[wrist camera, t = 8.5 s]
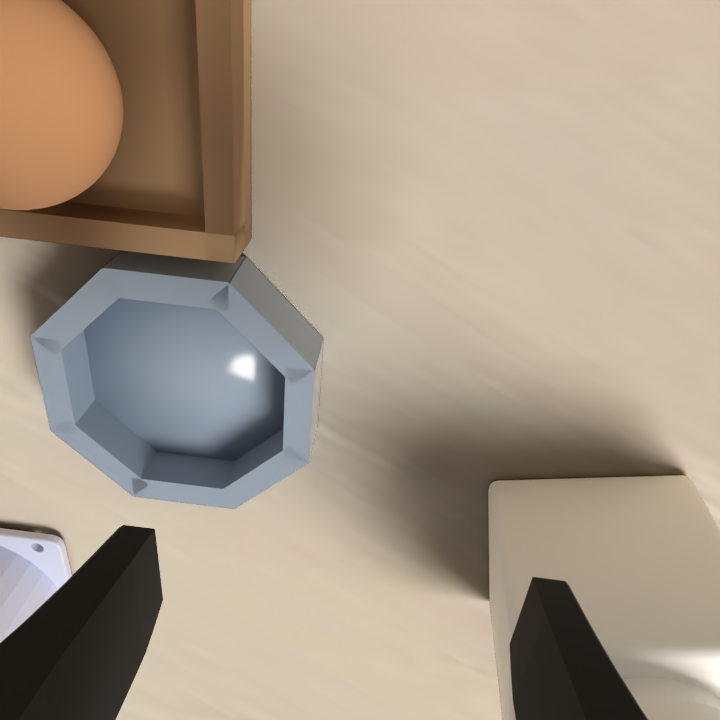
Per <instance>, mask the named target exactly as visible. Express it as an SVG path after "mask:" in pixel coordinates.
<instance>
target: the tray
mask: <svg viewBox="0 0 720 720" xmlns="http://www.w3.org/2000/svg"><path fill="white" fill-rule="evenodd" d="M61 1H63V2H64V3H65V4H67V5H68V6H69V7H70V8H71V9H72V10H73V11H75V12H76V13H77V14H78V15H79V16H80V17H81V18H82V19H83V20H84V21H85V22H86V23H87V25H88V26H89V27H90V28H91V29H92V30H93V32H94V33H95V34H96V36H97V37H98V39H99V40H100V41H101V43H102V44H103V46H104V48H105V50H106V51H107V53H108V55H109V57H110V59H111V61H112V64H113V66H114V68H115V71H116V74H117V77H118V80H119V83H120V88H121V93H122V98H123V126H122V131H121V136H120V141H119V144H118V147H117V150H116V153H115V155H114V157H113V159H112V160H111V162H110V164H109V166H108V167H107V169H106V170H105V171H104V172H103V174H102V175H101V176H100V178H99V179H98V180H97V181H96V182H94V183H93V184H92V185H91V186H90V187H89V188H88V189H86V190H85V191H83V192H82V193H80V194H79V195H77V196H76V197H74V198H71V199H69V200H67V201H65V202H63V203H60V204H57V205H54V206H50V207H46V208H40V209H32V210H8V209H0V236H1V237H9V238H18V239H27V240H35V241H44V242H53V243H61V244H70V245H79V246H88V247H96V248H105V249H114V250H122V251H131V252H140V253H148V254H157V255H166V256H174V257H183V258H192V259H201V260H209V261H218V262H227V263H236V261H237V260H238V258H239V257H240V255H241V254H242V252H243V251H244V249H245V248H246V246H247V245H248V243H249V242H250V240H251V239H252V215H251V0H61Z"/></svg>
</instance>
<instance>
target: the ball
mask: <svg viewBox="0 0 720 720" xmlns="http://www.w3.org/2000/svg"><path fill="white" fill-rule="evenodd" d="M122 126H123V98H122V93H121V88H120V83H119V80H118V77H117V74H116V71H115V68H114V66H113V64H112V61H111V59H110V57H109V55H108V53H107V51H106V50H105V48H104V46H103V44H102V43H101V41H100V40H99V39H98V37H97V36H96V34H95V33H94V32H93V30H92V29H91V28H90V27H89V26H88V25H87V23H86V22H85V21H84V20H83V19H82V18H81V17H80V16H79V15H78V14H77V13H76V12H75V11H73V10H72V9H71V8H70V7H69V6H68V5H67V4H65V3H64V2H63V1H61V0H0V209H8V210H32V209H40V208H46V207H50V206H54V205H57V204H60V203H63V202H65V201H67V200H69V199H71V198H74V197H76V196H77V195H79V194H80V193H82V192H83V191H85V190H86V189H88V188H89V187H90V186H91V185H92V184H93V183H94V182H96V181H97V180H98V179H99V178H100V176H101V175H102V174H103V172H104V171H105V170H106V169H107V167H108V166H109V164H110V162H111V160H112V159H113V157H114V155H115V153H116V150H117V147H118V144H119V141H120V136H121V131H122Z"/></svg>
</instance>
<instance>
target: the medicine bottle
mask: <svg viewBox="0 0 720 720" xmlns="http://www.w3.org/2000/svg"><path fill="white" fill-rule="evenodd" d="M488 510H489V596H490V614H491V623H492V631H493V640H494V649H495V658H496V667H497V676H498V685H499V693H500V702H501V711H502V720H516V717H515V711H514V705H513V695H512V681H511V664H510V645H509V644H510V641H511V638H512V635H513V633H514V630H515V627H516V624H517V621H518V618H519V615H520V612H521V609H522V606H523V603H524V600H525V598H526V595H527V592H528V589H529V586H530V583H531V580H532V577H538V578H546V579H554V580H562V581H566V582H567V584H568V585H569V586H570V588H571V590H572V592H573V594H574V596H575V597H576V599H577V601H578V603H579V605H580V607H581V609H582V610H583V612H584V614H585V616H586V618H587V619H588V621H589V623H590V625H591V627H592V628H593V630H594V632H595V634H596V635H597V637H598V639H599V641H600V642H601V644H602V646H603V648H604V649H605V651H606V653H607V654H608V656H609V658H610V659H611V661H612V663H613V665H614V666H615V668H616V670H617V671H618V673H619V674H620V676H621V678H622V679H623V681H624V682H625V684H626V686H627V687H628V689H629V690H630V692H631V694H632V695H633V697H634V698H635V700H636V702H637V703H638V705H639V706H640V708H641V710H642V711H643V713H644V714H645V716H646V717H647V719H648V720H720V529H719V527H718V526H717V524H716V522H715V520H714V518H713V517H712V515H711V513H710V511H709V509H708V508H707V506H706V504H705V502H704V500H703V499H702V497H701V495H700V493H699V491H698V489H697V488H696V486H695V484H694V482H693V481H692V480H691V479H690V478H689V477H687V476H684V475H672V476H638V477H604V478H570V479H535V480H501V481H494V482H492V483H491V484H490V487H489V490H488Z"/></svg>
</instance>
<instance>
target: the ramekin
mask: <svg viewBox="0 0 720 720" xmlns="http://www.w3.org/2000/svg"><path fill="white" fill-rule="evenodd" d="M323 340H324V339H323V337H322V336H321V335H320V334H319V333H318V332H317V331H316V330H315V329H314V328H313V327H312V326H311V325H310V324H309V322H308V321H307V320H306V319H305V318H304V317H303V316H302V315H301V314H300V313H299V312H298V311H297V310H296V309H295V308H294V307H293V306H292V305H291V303H290V302H289V301H288V300H287V299H286V298H285V297H284V296H283V295H282V294H281V293H280V292H279V291H278V290H277V289H276V288H275V287H274V285H273V284H272V283H271V282H270V281H269V280H268V279H267V278H266V277H265V276H264V275H263V274H262V273H261V272H260V271H259V270H258V269H257V268H256V266H255V265H254V264H253V263H252V262H251V261H250V260H249V259H248V258H247V257H246V258H245V256H240V257H239V258H238V260H237V261H236V263H227V262H218V261H209V260H201V259H192V258H183V257H174V256H166V255H157V254H148V253H140V252H131V251H121V252H120V253H119V254H117V255H116V256H115V257H114V258H113V259H112V260H111V261H110V262H108V263H107V264H106V265H105V266H104V267H103V268H102V269H101V270H99V271H98V272H97V273H96V274H95V275H94V276H93V277H92V278H91V279H90V280H89V281H88V282H87V283H86V284H85V285H84V286H83V287H82V288H81V289H80V290H78V291H77V292H76V293H75V294H74V295H73V296H72V297H71V298H70V299H69V300H68V301H67V302H66V303H65V304H64V305H63V306H62V307H61V308H60V309H58V310H57V311H56V312H55V313H54V314H53V315H52V316H51V317H50V318H49V319H48V320H47V321H46V322H45V323H44V324H43V325H42V326H41V327H40V328H38V329H37V330H36V331H35V332H34V333H33V334H32V335H31V342H32V347H33V352H34V356H35V361H36V366H37V370H38V375H39V380H40V384H41V389H42V394H43V398H44V403H45V408H46V413H47V417H48V422H49V427H50V430H51V432H53V433H54V434H55V435H56V436H58V437H59V438H60V439H61V440H63V441H64V442H65V443H67V444H68V445H69V446H70V447H72V448H73V449H74V450H75V451H77V452H78V453H79V454H80V455H82V456H83V457H84V458H85V459H87V460H88V461H89V462H90V463H92V464H93V465H94V466H95V467H97V468H98V469H99V470H100V471H102V472H103V473H104V474H106V475H107V476H108V477H109V478H111V479H112V480H113V481H114V482H116V483H117V484H118V485H119V486H121V487H122V488H123V489H124V490H126V491H127V492H128V493H129V494H131V495H132V496H134V497H140V498H148V499H156V500H164V501H172V502H180V503H188V504H196V505H204V506H212V507H220V508H228V509H235V508H237V507H239V506H240V505H242V504H243V503H245V502H247V501H248V500H250V499H252V498H253V497H255V496H256V495H258V494H260V493H261V492H263V491H264V490H266V489H268V488H269V487H271V486H272V485H274V484H276V483H277V482H279V481H280V480H282V479H284V478H285V477H287V476H288V475H290V474H292V473H293V472H295V471H297V470H298V469H300V468H301V467H303V466H305V465H306V464H308V463H309V462H310V457H311V453H312V449H313V444H314V440H315V436H316V432H317V427H318V416H319V401H320V386H321V370H322V355H323Z"/></svg>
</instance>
